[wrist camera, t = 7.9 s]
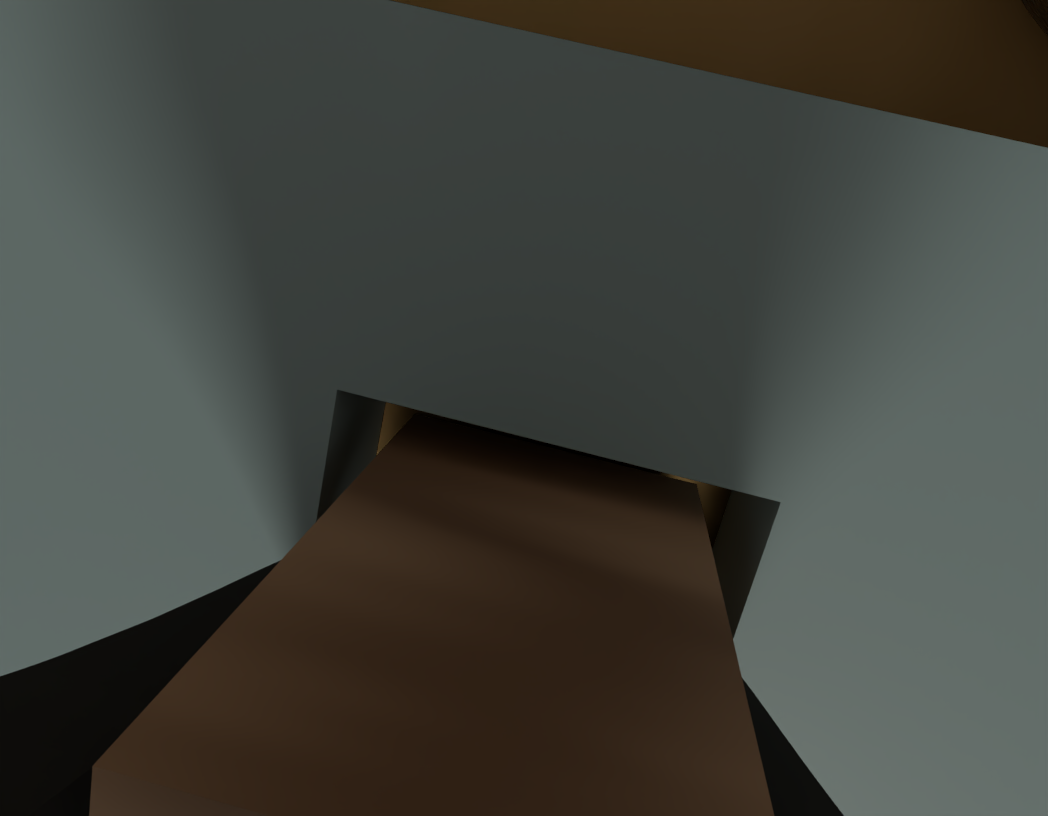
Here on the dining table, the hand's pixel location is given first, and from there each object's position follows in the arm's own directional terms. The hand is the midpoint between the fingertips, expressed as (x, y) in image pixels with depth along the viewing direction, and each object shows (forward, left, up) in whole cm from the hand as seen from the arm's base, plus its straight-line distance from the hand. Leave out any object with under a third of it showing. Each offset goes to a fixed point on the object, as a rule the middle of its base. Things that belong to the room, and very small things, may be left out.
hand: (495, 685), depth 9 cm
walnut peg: (0, 0, -2) cm, 3 cm away
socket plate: (0, 0, -3) cm, 3 cm away
